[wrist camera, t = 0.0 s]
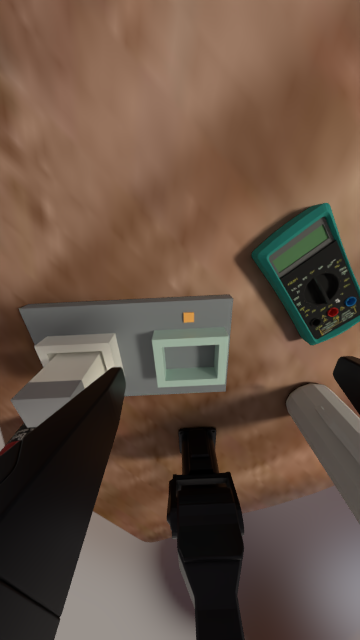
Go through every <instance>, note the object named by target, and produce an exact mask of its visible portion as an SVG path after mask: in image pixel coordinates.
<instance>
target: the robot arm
mask: <svg viewBox="0 0 360 640" xmlns="http://www.w3.org/2000/svg"><path fill="white" fill-rule="evenodd" d="M333 376H334V378H335V380H336V381H337V383H338V384H339V386H340V387H341V389H342V390H343V392H344V393H345V395H346V396H347V397H348V399H349V400H350V402H351V403H352V405H353V406H354V408H355V409H356V410H357V412H358V413H359V414H360V359H359V358H356V357H353V356H344V357H340V358H339V359H338V361H337V364H336V366H335V369H334V371H333ZM125 389H126V381H125V376H124V372H123V369H122V367H112V368H110V369H109V370H108V371H106V372H105V373H104V374H103V375H101V376H100V377H99V378H98V379H96V380H95V381H94V382H93V383H91V384H90V385H89V386H88V387H86V388H85V389H84V390H83V391H81V392H80V393H79V394H78V395H76V396H75V397H74V398H72V399H71V400H70V401H69V402H67V403H66V404H65V405H64V406H62V407H61V408H60V409H59V410H57V411H56V412H55V413H54V414H52V415H51V416H50V417H49V418H47V419H46V420H45V421H44V422H42V423H41V424H40V425H39V426H37V427H36V428H35V429H34V430H32V431H31V432H30V433H28V434H27V435H26V436H25V437H23V439H22V440H20V441H18V442H17V443H16V444H15V445H13V446H12V447H11V448H9V449H8V450H7V451H6V452H4V453H3V454H2V455H1V456H0V640H54V638H55V635H56V632H57V628H58V625H59V622H60V618H59V617H60V616H61V614H62V611H63V608H64V604H65V601H66V598H67V595H68V591H69V588H70V585H71V581H72V577H73V575H74V571H75V568H76V564H77V561H78V558H79V554H80V551H81V548H82V544H83V541H84V538H85V535H86V532H87V528H88V525H89V522H90V518H91V515H92V512H93V508H94V505H95V502H96V498H97V495H98V492H99V488H100V485H101V482H102V478H103V475H104V472H105V469H106V465H107V462H108V459H109V455H110V452H111V449H112V445H113V442H114V439H115V435H116V432H117V429H118V425H119V420H120V415H121V410H122V405H123V399H124V394H125ZM215 442H216V428H214V427H211V428H190V429H179V446H180V453H181V454H182V475H177V474H173V479H172V480H170V481H169V498H168V508H167V521H168V523H169V524H170V527H171V530H172V539H177V548H178V558H179V566H180V570H181V573H182V576H183V578H184V581H185V583H186V586H187V589H188V592H189V594H190V597H191V600H192V602H193V605H194V608H195V621H196V640H245V639H244V633H243V627H242V621H241V616H240V610H239V604H238V598H237V593H238V586H239V579H240V572H241V566H242V559H243V552H244V545H243V539H242V536H243V535H244V524H243V518H242V512H241V507H240V503H239V500H238V497H237V493H236V490H235V487H234V483H233V480H232V477H231V473H230V472H226V473H219V469H218V464H217V458H216V453H215Z"/></svg>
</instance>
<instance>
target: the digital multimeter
mask: <svg viewBox="0 0 360 640" xmlns="http://www.w3.org/2000/svg"><path fill="white" fill-rule="evenodd" d="M251 256H252V258H253V260H254V261H255V263H256V264H257V266H258V267H259V268H260V270H261V271H262V273H263V274H264V276H265V277H266V279H267V280H268V281H269V283H270V284H271V286H272V287H273V289H274V291H275V292H276V294H277V295H278V297H279V299H280V300H281V302H282V303H283V305H284V307H285V308H286V310H287V312H288V314H289V316H290V317H291V319H292V321H293V323H294V325H295V327H296V328H297V330H298V332H299V334H300V336H301V338H303V339H304V340H305V341H306V342H307V343H309V344H310V345H315V344H318V343H321V342H323V341H326V340H328V339H331V338H333V337H335V336H337V335H339V334H341V333H343V332H345V331H346V330H348V329H349V328H351V327H352V326H354V325H355V324H356V323H358V322H359V321H360V287H359V285H358V283H357V281H356V278H355V276H354V274H353V272H352V269H351V267H350V264H349V261H348V258H347V256H346V253H345V250H344V248H343V245H342V242H341V239H340V236H339V232H338V229H337V226H336V223H335V220H334V217H333V213H332V210H331V207H330V205H329V204H328V203H323V204H318V205H314V206H311V207H309V208H308V209H306V210H305V211H303V212H302V213H300V214H299V215H297V216H296V217H294V218H293V219H291V220H290V221H289V222H287V223H286V224H284V225H283V226H282V227H281V228H279V229H278V230H277V231H275V232H274V233H273V234H272V235H271V236H269V237H268V238H267V239H266V240H265V241H264V242H263V243H261V244H260V245H259V246H258V247H257V248H256V249H255V250H254V251H253V252H252V255H251ZM283 285H284V286H283ZM287 292H288V293H287ZM290 297H291V298H290ZM294 304H295V305H294ZM317 306H318V307H317ZM301 316H302V317H301ZM305 323H306V324H305ZM308 328H309V329H308Z"/></svg>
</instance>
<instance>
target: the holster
mask: <svg viewBox="0 0 360 640" xmlns="http://www.w3.org/2000/svg"><path fill="white" fill-rule="evenodd" d="M34 348H35V350H36V352H37V354H38V357H39V359H40V361H41V363H42V365H43V367H45V366H46V365H47V364H48V363H49V362H50V361H51V360H52V359H53V358H54V357H55V356H56V355H57V354H58V353H70V352H91V351H102V354H103V357H104V361H105V365H106V368H107V371H108V370H109V369H110V368H112V367H122V369H123V366H122V362H121V357H120V353H119V348H118V344H117V339H116V335H115V333H107V334H86V335H65V336H47V337H46V338H44V339H43V340H42V341H40V342H39V343H38V344H37V345H35V346H34ZM123 372H124V370H123ZM124 376H125V375H124Z"/></svg>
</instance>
